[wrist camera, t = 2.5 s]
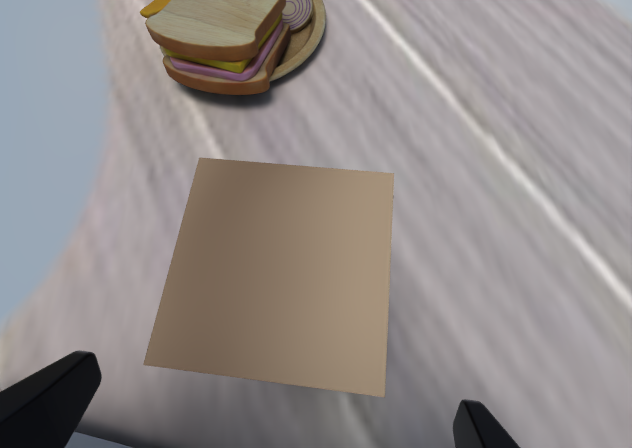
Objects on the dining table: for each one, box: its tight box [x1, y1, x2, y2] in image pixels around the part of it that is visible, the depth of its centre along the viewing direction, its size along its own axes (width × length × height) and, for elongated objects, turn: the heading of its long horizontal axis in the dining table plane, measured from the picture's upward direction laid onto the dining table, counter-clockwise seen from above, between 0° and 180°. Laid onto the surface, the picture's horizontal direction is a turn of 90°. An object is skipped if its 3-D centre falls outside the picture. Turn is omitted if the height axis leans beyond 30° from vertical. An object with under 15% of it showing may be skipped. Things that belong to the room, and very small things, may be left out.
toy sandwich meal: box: [140, 0, 326, 95], centre depth 24 cm, size 12×14×5 cm
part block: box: [143, 158, 394, 397], centre depth 13 cm, size 4×4×12 cm
